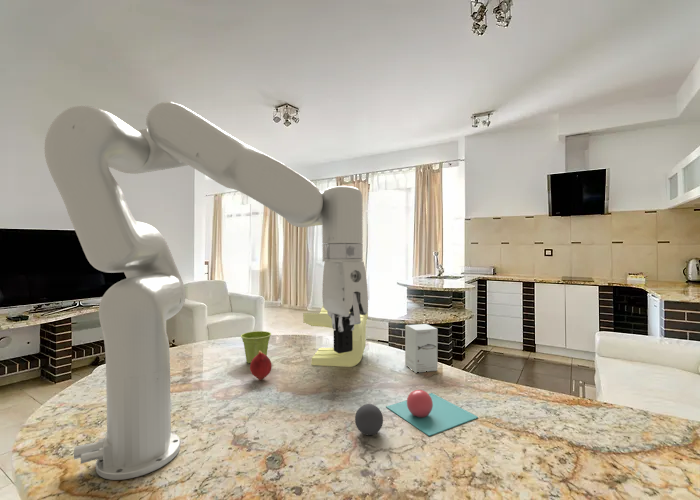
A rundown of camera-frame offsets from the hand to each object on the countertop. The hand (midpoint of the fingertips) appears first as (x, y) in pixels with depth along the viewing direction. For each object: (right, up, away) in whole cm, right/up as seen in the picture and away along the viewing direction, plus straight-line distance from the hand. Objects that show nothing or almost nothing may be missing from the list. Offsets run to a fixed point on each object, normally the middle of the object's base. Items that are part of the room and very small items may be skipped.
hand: (343, 350), depth 65 cm
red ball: (+16, -14, +10) cm, 24 cm away
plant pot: (-29, -17, +46) cm, 57 cm away
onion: (-23, -17, +30) cm, 42 cm away
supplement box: (+23, -17, +39) cm, 48 cm away
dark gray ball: (+5, -14, +3) cm, 15 cm away
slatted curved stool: (-2, -17, +48) cm, 50 cm away
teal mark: (+19, -17, +11) cm, 28 cm away
